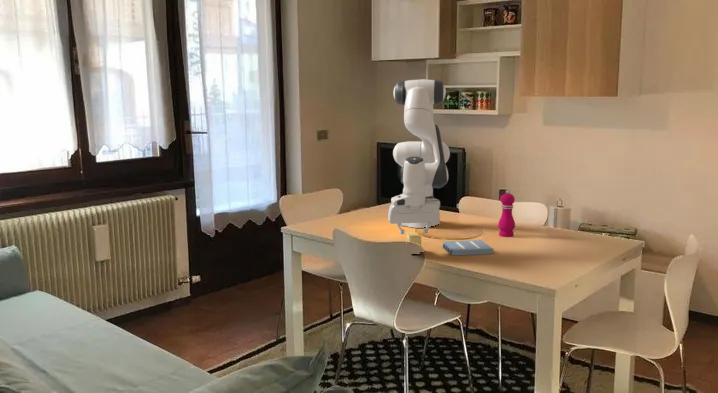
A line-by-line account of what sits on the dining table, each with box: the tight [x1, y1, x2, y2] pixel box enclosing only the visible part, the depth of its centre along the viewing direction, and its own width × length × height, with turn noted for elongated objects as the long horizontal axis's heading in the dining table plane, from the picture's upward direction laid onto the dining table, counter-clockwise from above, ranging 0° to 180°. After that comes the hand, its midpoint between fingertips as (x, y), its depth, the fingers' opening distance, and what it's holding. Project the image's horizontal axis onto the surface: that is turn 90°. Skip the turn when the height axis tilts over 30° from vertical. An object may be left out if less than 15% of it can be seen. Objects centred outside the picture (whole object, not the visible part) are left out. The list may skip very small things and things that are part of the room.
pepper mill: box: [497, 189, 516, 238], centre depth 286 cm, size 7×7×20 cm
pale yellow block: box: [406, 231, 422, 246], centre depth 261 cm, size 8×4×7 cm, turn 8°
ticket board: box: [442, 239, 494, 256], centre depth 264 cm, size 14×17×2 cm
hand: (413, 233), depth 260 cm, fingers open, 8 cm apart
